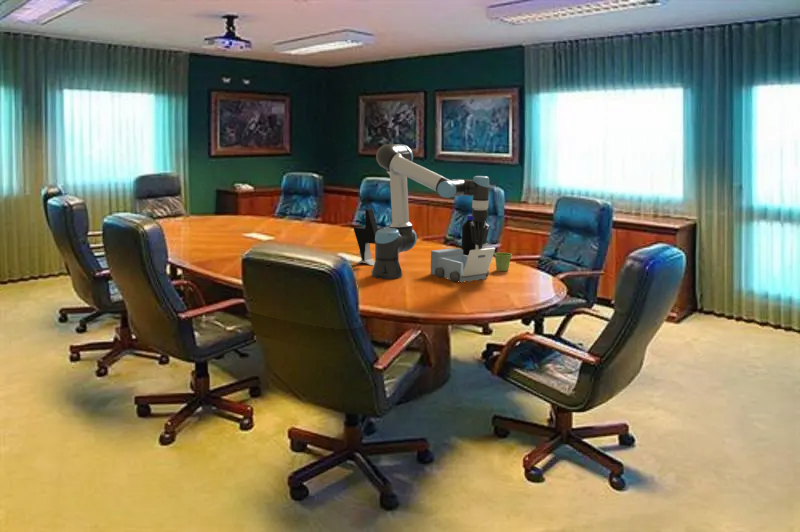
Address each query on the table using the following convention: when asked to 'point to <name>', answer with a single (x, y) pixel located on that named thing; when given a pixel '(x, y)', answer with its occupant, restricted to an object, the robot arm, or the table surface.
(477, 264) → the tailgate
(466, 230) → the bottle
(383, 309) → the table surface
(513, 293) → the table surface
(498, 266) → the plant pot
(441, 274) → the truck bed
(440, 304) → the table surface
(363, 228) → the award
